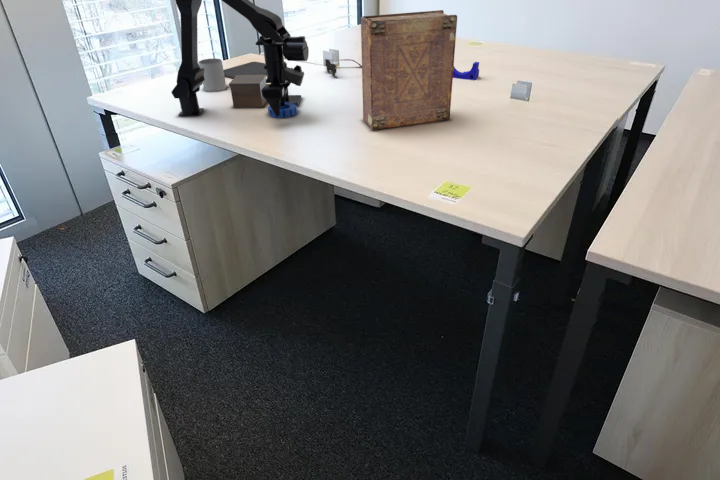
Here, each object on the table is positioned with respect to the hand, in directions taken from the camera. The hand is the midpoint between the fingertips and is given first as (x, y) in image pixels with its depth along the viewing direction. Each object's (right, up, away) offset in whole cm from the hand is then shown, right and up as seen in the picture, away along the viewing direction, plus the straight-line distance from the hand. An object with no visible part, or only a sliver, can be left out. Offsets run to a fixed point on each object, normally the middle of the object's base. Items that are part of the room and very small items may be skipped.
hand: (280, 110), depth 154 cm
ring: (0, 0, +4) cm, 4 cm away
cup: (-30, +16, +29) cm, 45 cm away
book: (+40, -4, -4) cm, 40 cm away
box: (-12, +6, +14) cm, 20 cm away
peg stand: (0, +6, +13) cm, 15 cm away
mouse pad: (-21, +30, +49) cm, 61 cm away
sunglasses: (+21, +27, +44) cm, 56 cm away
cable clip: (+66, +22, +35) cm, 77 cm away
